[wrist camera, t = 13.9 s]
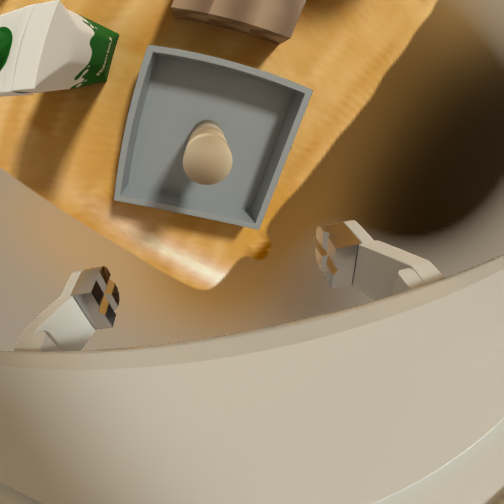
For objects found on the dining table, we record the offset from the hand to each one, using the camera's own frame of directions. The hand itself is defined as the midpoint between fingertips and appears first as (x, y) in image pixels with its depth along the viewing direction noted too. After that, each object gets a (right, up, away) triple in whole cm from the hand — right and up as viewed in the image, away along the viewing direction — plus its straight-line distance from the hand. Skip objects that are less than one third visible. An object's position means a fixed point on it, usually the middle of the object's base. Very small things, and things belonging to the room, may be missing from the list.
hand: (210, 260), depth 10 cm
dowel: (-4, +15, +22) cm, 27 cm away
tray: (-4, +16, +23) cm, 28 cm away
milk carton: (-20, +26, +14) cm, 35 cm away
